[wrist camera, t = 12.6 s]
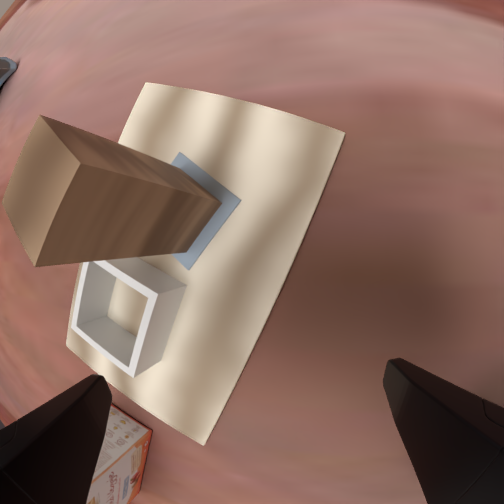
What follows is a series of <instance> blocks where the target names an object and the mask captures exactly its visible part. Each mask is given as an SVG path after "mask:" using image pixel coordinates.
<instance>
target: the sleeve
mask: <svg viewBox="0 0 504 504" xmlns="http://www.w3.org/2000/svg"><path fill="white" fill-rule="evenodd" d="M116 278H118V279H120V280H121V281H123V282H124V283H126V284H127V285H129V286H130V287H132V288H134V289H135V290H137V291H138V292H140V293H141V294H143V295H145V296H146V297H148V301H147V304H146V307H145V310H144V314H143V317H142V321H141V324H140V328H139V331H138V335H137V337H135V336H134V335H132V334H131V333H130V332H128V331H127V330H125V329H124V328H122V327H121V326H120V325H118V324H117V323H116V322H114V321H113V320H112V319H110V318H109V317H108V316H107V314H108V309H109V305H110V301H111V297H112V293H113V289H114V285H115V281H116ZM186 287H187V285H186V284H184V283H182V282H180V281H178V280H177V279H175V278H173V277H171V276H169V275H168V274H166V273H164V272H162V271H161V270H159V269H157V268H155V267H153V266H152V265H150V264H148V263H146V262H145V261H143V260H141V259H140V258H138V257H133V258H123V259H112V260H102V261H92V262H83V266H82V270H81V275H80V280H79V284H78V289H77V295H76V300H75V306H74V312H73V318H72V324H71V328H72V329H73V330H74V331H75V332H76V333H77V334H78V335H80V336H81V337H82V338H83V339H84V340H85V341H87V342H88V343H89V344H90V345H91V346H92V347H94V348H95V349H96V350H97V351H99V352H100V353H101V354H102V355H104V356H105V357H106V358H107V359H109V360H110V361H111V362H112V363H114V364H115V365H116V366H118V367H119V368H120V369H122V370H123V371H124V372H126V373H127V374H128V375H130V376H131V377H132V378H135V377H136V376H138V375H139V374H141V373H142V372H144V371H146V370H147V369H149V368H150V367H152V366H153V365H155V364H156V363H158V362H160V361H161V359H162V356H163V353H164V350H165V347H166V344H167V341H168V338H169V335H170V332H171V330H172V327H173V324H174V321H175V318H176V315H177V312H178V309H179V307H180V304H181V301H182V298H183V295H184V292H185V290H186Z"/></svg>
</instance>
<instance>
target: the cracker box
mask: <svg viewBox="0 0 504 504" xmlns="http://www.w3.org/2000/svg"><path fill="white" fill-rule="evenodd" d="M151 434H152V430H150V429H149V428H147V427H145V426H144V425H142V424H140V423H139V422H137V421H136V420H134V419H133V418H131V417H130V416H128V415H127V414H125V413H124V412H122V411H121V410H120V409H118V408H117V407H115V406H114V405H112V404H111V408H110V412H109V417H108V422H107V428H106V433H105V437H104V441H103V444H102V448H101V451H100V454H99V458H98V461H97V465H96V468H95V472H94V475H93V479H92V483H91V487H90V490H89V494H88V498H87V502H86V504H129V503H130V502H131V501H132V500H133V498H134V497H135V496H136V495H137V494H138V493H139V491H140V485H141V480H142V475H143V470H144V465H145V461H146V456H147V451H148V447H149V443H150V438H151Z"/></svg>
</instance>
